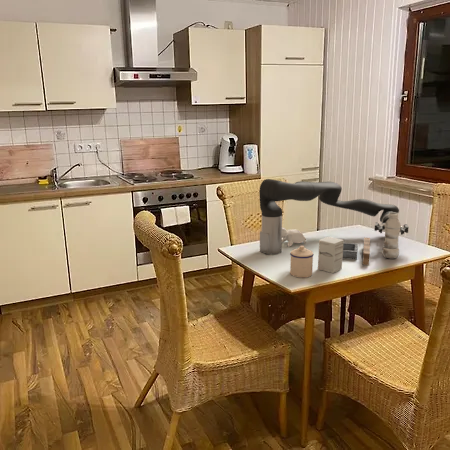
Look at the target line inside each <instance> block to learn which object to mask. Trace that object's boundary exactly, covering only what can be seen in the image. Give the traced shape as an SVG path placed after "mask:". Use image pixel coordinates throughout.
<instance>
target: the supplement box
mask: <svg viewBox="0 0 450 450" xmlns="http://www.w3.org/2000/svg"><path fill="white" fill-rule="evenodd" d="M344 241H345V240H344V239H340V238H335V237H332V236H326V237H322V238H321V239H319V240H318V258H317V259H318V260H317V270H320V271H324V272H327V273H331V274H334V273H336V272H339V271H340V270H342V267H343V259H344V258H343V243H345V242H344Z"/></svg>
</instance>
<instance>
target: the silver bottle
mask: <svg viewBox="0 0 450 450" xmlns="http://www.w3.org/2000/svg"><path fill="white" fill-rule="evenodd" d="M397 218H398V219H397ZM398 220H399V213H395V212H390V213H389V219H388V220H387V221H386V222H385V226H384V227H385V232H384V243H383V244H384V245H383V248H382V256H383V257H384V258H386V259H396V258H398V257H399V253H400V249H399V236H400V233H401V232H400V228H401V226H402V225H401V222H400V221H398Z"/></svg>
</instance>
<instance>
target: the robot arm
mask: <svg viewBox="0 0 450 450" xmlns="http://www.w3.org/2000/svg"><path fill="white" fill-rule="evenodd" d="M342 190H343V189H342V186H341V185H340V184H339V183H337V182H334V181H320V182H319V181H318V182H317V181H316V182H315V181H303V180H302V181H301V180H300V181H296V182H294V183H291V182H286V181H281V180H278V179H272V178H267V179H264V180H263V181H262V182H261V184H260V186H259V192H258V193H259V194H258V195H259V208H260V211H261V230H259V252H261V253H263V254H265V255H278V254H280V253H282V251H283V250H282V248H283V247H282V246H283V245H282V243H283V242H282V239H283V238H282V227H283V210H282V208H281V207H280V206H279V205H278V204H277V202H282V201H288V200H289V201H290V200H293V201H300V202H309V201H312V200H314V199H316V198H317V197H318V200H319V201H320V202H322V203H323V204H326V205H328V206H333V207H336V208H339V209H340V208H341V209H345V210H351V211H355V212H358V213H362V214H365V215H367V216H371V217H373V218H374V217H376V216H378V214H379V212H381V215H380V218H379V221H380V222H381V224H380V223H378V222H375V224H374V231H375V232H377V231H378V233H380V234H383V232H384V233H385V227H384V226H385V222H386V221H387V220H388V219H389V213H390V212H395V213H398V214H399V213H400V209H399V207H398V206H397V205H394V204H389V203H388V204H386V203H385V204H384V203H378V202H375V201H372V200H369V199H365V198H358V199H352V200H344V201H343V200H339V198H340V195H341V193H342ZM397 219H398V221H399V217H398V218H397ZM399 222H400V221H399ZM399 233H400V235H405V233H406V234H408V233H409V225H408V224H403V225H401V228H400V232H399Z"/></svg>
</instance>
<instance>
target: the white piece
mask: <svg viewBox="0 0 450 450" xmlns="http://www.w3.org/2000/svg"><path fill="white" fill-rule="evenodd" d="M286 241H287V246H288V247H292V246H293V244H301V243H303V244H304V245H306V241H307V238H306V237H305V235H304V234H303V233H302V231H300V229H295V228H294V229H286V228H285V227H283V226H282V243H285V242H286Z"/></svg>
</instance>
